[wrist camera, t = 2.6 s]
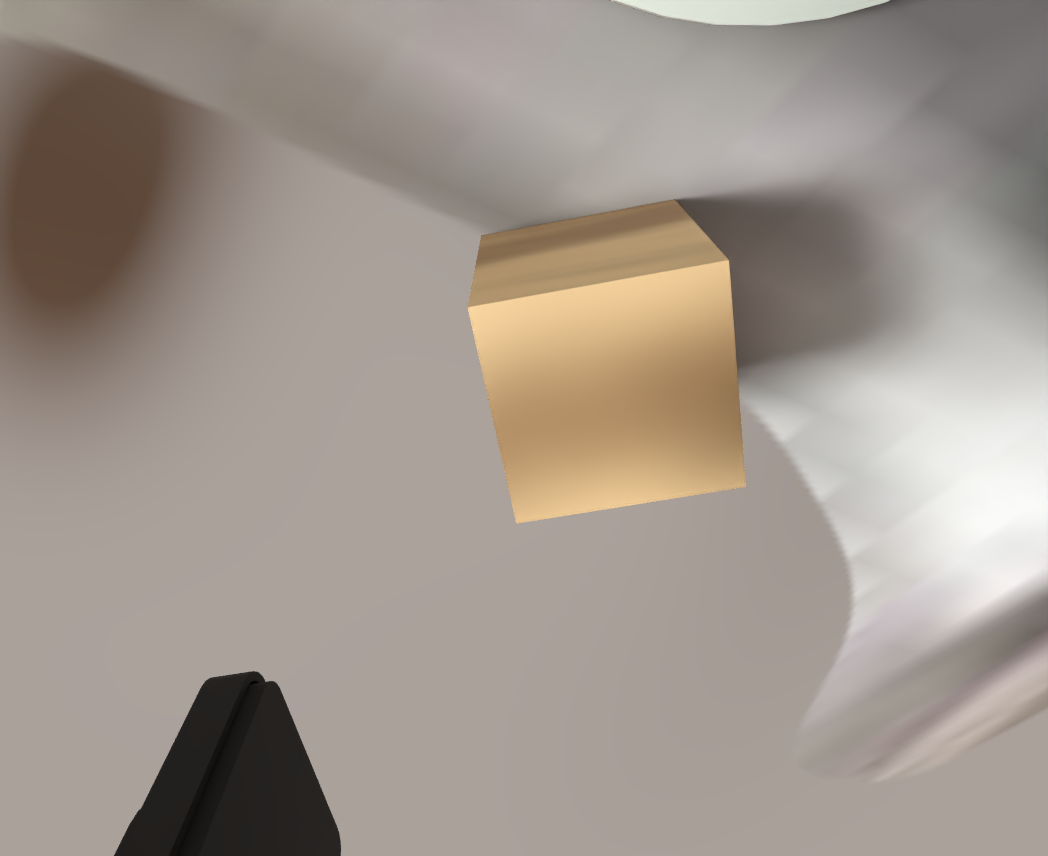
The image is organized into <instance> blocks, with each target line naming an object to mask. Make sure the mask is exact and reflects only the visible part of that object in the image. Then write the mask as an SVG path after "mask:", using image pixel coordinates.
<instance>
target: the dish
mask: <svg viewBox="0 0 1048 856" xmlns="http://www.w3.org/2000/svg"><path fill="white" fill-rule="evenodd" d="M610 1H612V2H615V3H618V4H622V5H625V6H628V7H631V8H634V9H637V10H640V11H643V12H646V13H650V14H653V15H656V16H659V17H665V18H671V19H677V20H683V21H689V22H696V23H702V24H708V25H779V24H787V23H794V22H802V21H809V20H817V19H825V18H830V17H834V16H838V15H841V14H845V13H849V12H852V11H856V10H860V9H863V8H867V7H871V6H874V5H878V4H881V3H885V2H887V1H889V0H610Z"/></svg>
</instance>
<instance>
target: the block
mask: <svg viewBox="0 0 1048 856" xmlns="http://www.w3.org/2000/svg"><path fill="white" fill-rule="evenodd" d="M468 310H469V315H470V319H471V324H472V329H473V333H474V338H475V342H476V346H477V351H478V354H479V359H480V364H481V368H482V373H483V377H484V382H485V386H486V390H487V395H488V400H489V404H490V408H491V413H492V417H493V421H494V426H495V431H496V435H497V439H498V443H499V448H500V453H501V457H502V462H503V466H504V470H505V474H506V479H507V483H508V488H509V492H510V497H511V501H512V506H513V510H514V515H515V519H516V523H522V522H528V521H534V520H541V519H547V518H553V517H559V516H566V515H572V514H578V513H584V512H591V511H597V510H604V509H609V508H616V507H622V506H628V505H635V504H641V503H648V502H654V501H660V500H666V499H672V498H679V497H685V496H691V495H698V494H704V493H710V492H716V491H723V490H729V489H735V488H741V487H746V482H745V469H744V455H743V442H742V429H741V415H740V402H739V388H738V375H737V362H736V348H735V335H734V321H733V308H732V295H731V281H730V268H729V260H728V258H727V257H726V256H725V255H724V254H723V253H722V252H721V251H720V249H719V248H718V247H717V246H716V245H715V244H714V243H713V242H712V241H711V239H710V238H709V237H708V236H707V235H706V234H705V233H704V232H703V230H702V229H701V228H700V227H699V226H698V225H697V224H696V223H695V222H694V220H693V219H692V218H691V217H690V216H689V215H688V214H687V213H686V211H685V210H684V209H683V208H682V207H681V206H680V205H679V204H678V202H677V201H676V200H675V199H674V200H669V201H663V202H658V203H653V204H647V205H642V206H637V207H631V208H626V209H621V210H615V211H610V212H605V213H599V214H594V215H589V216H583V217H578V218H573V219H568V220H562V221H557V222H552V223H546V224H541V225H536V226H530V227H525V228H520V229H514V230H509V231H504V232H498V233H493V234H488V235H481V240H480V246H479V251H478V256H477V261H476V266H475V272H474V277H473V282H472V287H471V293H470V298H469V303H468Z"/></svg>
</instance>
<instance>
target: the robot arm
mask: <svg viewBox="0 0 1048 856" xmlns="http://www.w3.org/2000/svg"><path fill="white" fill-rule="evenodd" d="M340 843H341V842H340V835H339V831H338V828H337V825H336V823H335V821H334V818H333V816H332V814H331V811H330V809H329V806H328V804H327V801H326V799H325V796H324V794H323V792H322V789H321V787H320V784H319V782H318V779H317V777H316V775H315V772H314V770H313V767H312V765H311V762H310V760H309V758H308V755H307V753H306V750H305V748H304V746H303V743H302V741H301V738H300V736H299V733H298V731H297V729H296V726H295V724H294V721H293V719H292V716H291V714H290V712H289V709H288V707H287V704H286V702H285V700H284V697H283V695H282V692H281V690H280V688H279V686H278V685H277V683H275V682H274V681H269V682H265V680H264V678H263V676H262V675H261V674H260V673H258V672H254V671H253V672H245V673H239V674H233V675H226V676H219V677H213V678H210V679H208V680H206V681H205V683H204V684H203V685H202V687H201V689H200V691H199V693H198V695H197V697H196V699H195V701H194V703H193V705H192V707H191V709H190V711H189V713H188V715H187V717H186V719H185V721H184V723H183V725H182V727H181V729H180V731H179V733H178V736H177V737H176V739H175V742H174V743H173V745H172V747H171V749H170V751H169V753H168V756H167V757H166V759H165V761H164V763H163V765H162V767H161V769H160V771H159V773H158V776H157V778H156V780H155V782H154V784H153V786H152V788H151V790H150V792H149V794H148V796H147V798H146V800H145V802H144V804H143V806H142V808H141V809H140V810H139V811H138V812H137V814H136V815H135V817H134V819H133V820H132V821H131V823H130V825H129V827H128V829H127V831H126V833H125V835H124V837H123V839H122V841H121V843H120V845H119V847H118V849H117V851H116V853H115V855H114V856H341V844H340Z"/></svg>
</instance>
